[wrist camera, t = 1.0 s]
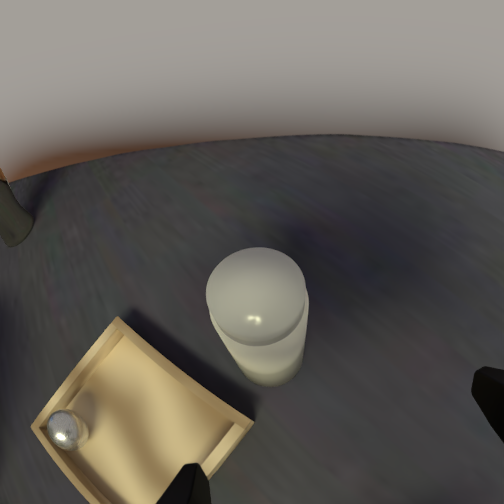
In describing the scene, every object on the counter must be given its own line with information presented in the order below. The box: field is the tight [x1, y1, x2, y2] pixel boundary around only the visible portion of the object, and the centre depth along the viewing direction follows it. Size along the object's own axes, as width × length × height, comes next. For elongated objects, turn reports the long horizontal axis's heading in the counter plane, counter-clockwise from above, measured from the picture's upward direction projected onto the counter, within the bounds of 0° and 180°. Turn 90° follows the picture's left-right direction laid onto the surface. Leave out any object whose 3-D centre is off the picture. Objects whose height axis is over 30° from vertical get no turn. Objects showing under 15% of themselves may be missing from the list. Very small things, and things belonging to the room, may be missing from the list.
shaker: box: [206, 247, 309, 387], centre depth 19 cm, size 5×5×11 cm
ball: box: [47, 409, 89, 451], centre depth 18 cm, size 4×4×4 cm
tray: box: [31, 316, 255, 504], centre depth 19 cm, size 14×14×2 cm
